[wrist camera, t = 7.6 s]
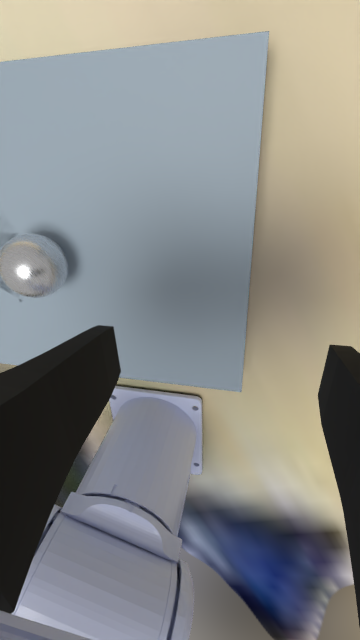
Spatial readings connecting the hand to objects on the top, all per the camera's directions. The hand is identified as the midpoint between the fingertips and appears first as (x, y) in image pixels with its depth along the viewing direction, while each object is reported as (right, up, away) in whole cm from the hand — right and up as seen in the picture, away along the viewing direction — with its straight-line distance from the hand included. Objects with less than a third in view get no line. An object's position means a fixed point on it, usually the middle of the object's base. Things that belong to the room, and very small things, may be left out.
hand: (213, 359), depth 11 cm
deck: (-10, +7, +10) cm, 16 cm away
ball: (-9, +4, +7) cm, 12 cm away
